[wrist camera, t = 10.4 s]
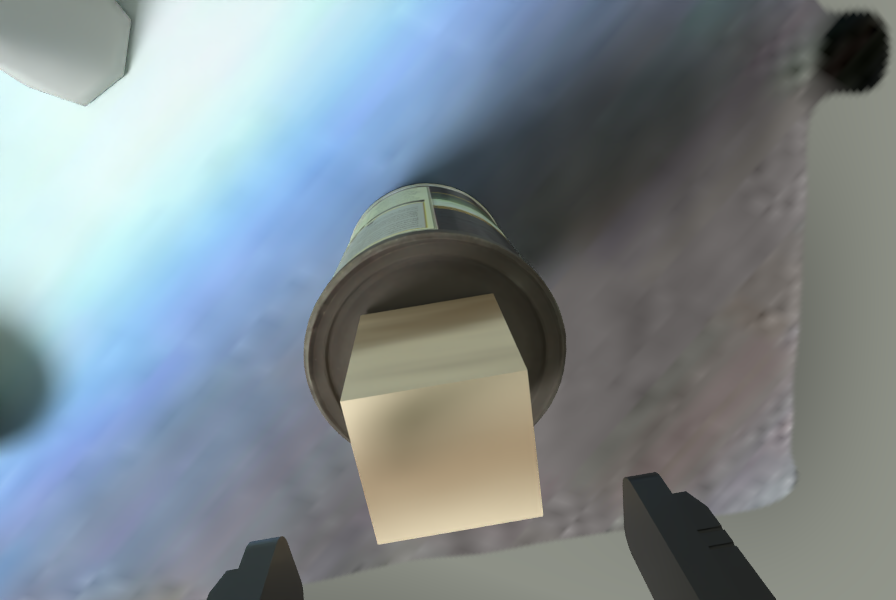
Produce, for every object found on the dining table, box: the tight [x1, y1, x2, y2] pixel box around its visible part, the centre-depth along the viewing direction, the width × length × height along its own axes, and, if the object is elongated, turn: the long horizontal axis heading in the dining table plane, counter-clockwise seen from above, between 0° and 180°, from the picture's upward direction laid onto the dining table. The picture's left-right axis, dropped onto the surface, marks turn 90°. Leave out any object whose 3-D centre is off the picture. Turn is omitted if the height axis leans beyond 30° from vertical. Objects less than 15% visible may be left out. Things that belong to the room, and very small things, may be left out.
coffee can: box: [304, 183, 566, 443], centre depth 27 cm, size 10×10×14 cm
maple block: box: [340, 293, 543, 545], centre depth 17 cm, size 5×5×6 cm
